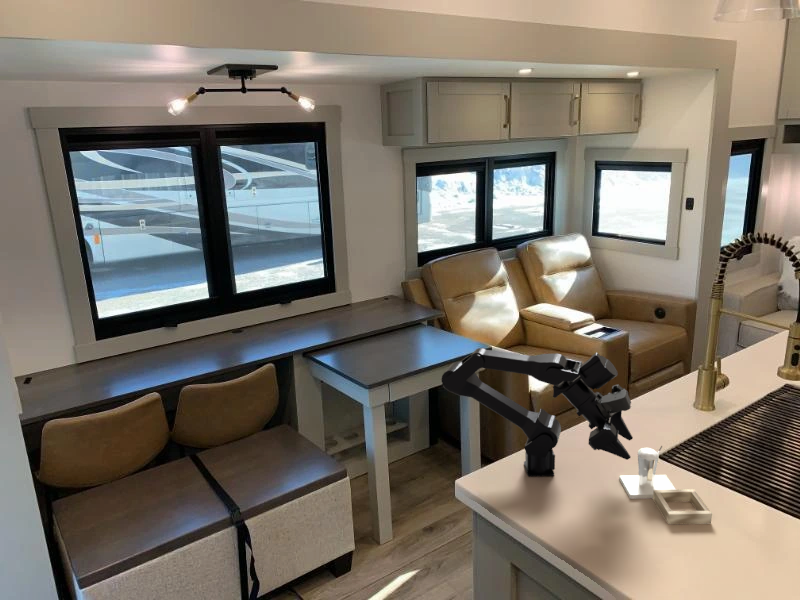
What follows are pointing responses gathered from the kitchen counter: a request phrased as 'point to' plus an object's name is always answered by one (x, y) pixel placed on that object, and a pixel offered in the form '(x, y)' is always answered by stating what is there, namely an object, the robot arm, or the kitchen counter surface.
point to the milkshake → (647, 466)
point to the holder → (682, 517)
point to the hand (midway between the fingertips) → (630, 448)
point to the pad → (639, 492)
